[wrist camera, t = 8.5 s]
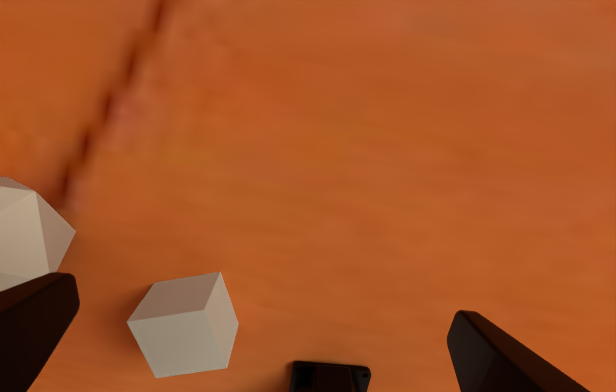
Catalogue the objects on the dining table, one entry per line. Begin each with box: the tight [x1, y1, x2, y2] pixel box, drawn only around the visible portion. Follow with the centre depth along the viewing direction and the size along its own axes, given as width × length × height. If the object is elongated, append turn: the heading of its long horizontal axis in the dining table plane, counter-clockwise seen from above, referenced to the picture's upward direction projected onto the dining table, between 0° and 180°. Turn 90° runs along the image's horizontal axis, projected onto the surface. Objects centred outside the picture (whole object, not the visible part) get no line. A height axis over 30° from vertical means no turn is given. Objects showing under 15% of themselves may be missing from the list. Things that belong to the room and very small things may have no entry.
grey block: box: [127, 272, 239, 378], centre depth 22 cm, size 5×5×4 cm
